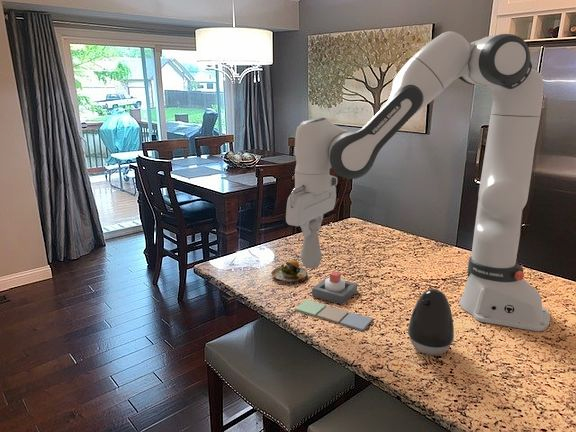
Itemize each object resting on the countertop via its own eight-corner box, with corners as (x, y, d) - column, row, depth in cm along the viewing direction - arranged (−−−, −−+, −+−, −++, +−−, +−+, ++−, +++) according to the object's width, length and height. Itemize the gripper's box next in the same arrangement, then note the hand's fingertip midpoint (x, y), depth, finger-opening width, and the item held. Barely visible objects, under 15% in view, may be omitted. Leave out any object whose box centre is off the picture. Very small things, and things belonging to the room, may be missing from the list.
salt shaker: (322, 262, 121) (323, 217, 117) (321, 270, 115) (322, 223, 112) (301, 261, 122) (301, 216, 118) (299, 269, 116) (299, 222, 112)
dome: (348, 290, 132) (348, 272, 130) (339, 298, 127) (339, 279, 125) (330, 286, 135) (330, 268, 133) (321, 293, 130) (321, 274, 128)
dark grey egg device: (398, 348, 103) (402, 290, 99) (420, 332, 110) (425, 276, 106) (438, 367, 96) (444, 305, 92) (459, 348, 103) (466, 290, 99)
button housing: (356, 291, 132) (357, 283, 132) (342, 304, 124) (342, 296, 124) (327, 283, 138) (327, 276, 137) (312, 296, 130) (312, 288, 129)
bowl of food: (266, 273, 146) (266, 252, 144) (299, 268, 150) (299, 248, 148) (279, 288, 135) (279, 265, 133) (313, 282, 140) (313, 260, 137)
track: (372, 320, 116) (372, 318, 116) (362, 331, 111) (362, 329, 110) (306, 301, 126) (306, 299, 126) (294, 310, 121) (294, 308, 121)
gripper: (301, 191, 102) (301, 247, 106) (340, 177, 118) (339, 225, 122) (279, 188, 105) (280, 242, 109) (320, 174, 122) (319, 222, 126)
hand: (311, 233), depth 116 cm, fingers closed on salt shaker, 4 cm apart
